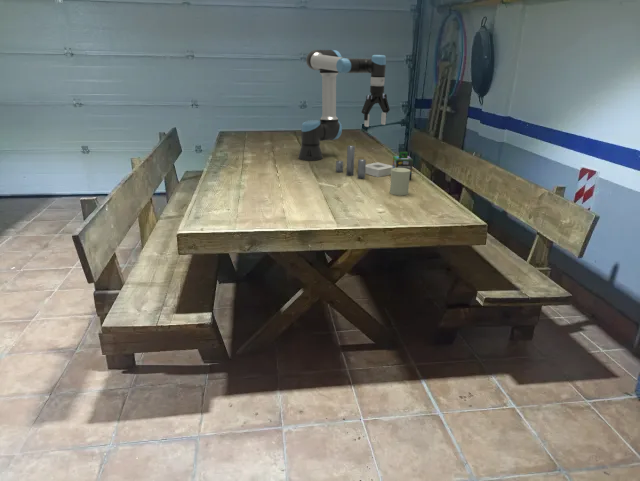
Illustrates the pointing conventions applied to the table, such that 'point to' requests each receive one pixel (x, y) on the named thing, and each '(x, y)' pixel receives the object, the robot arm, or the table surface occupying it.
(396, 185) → the can
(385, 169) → the socket block
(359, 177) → the medium pin
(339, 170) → the short pin
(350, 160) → the long pin
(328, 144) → the table surface
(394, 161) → the chalk box
